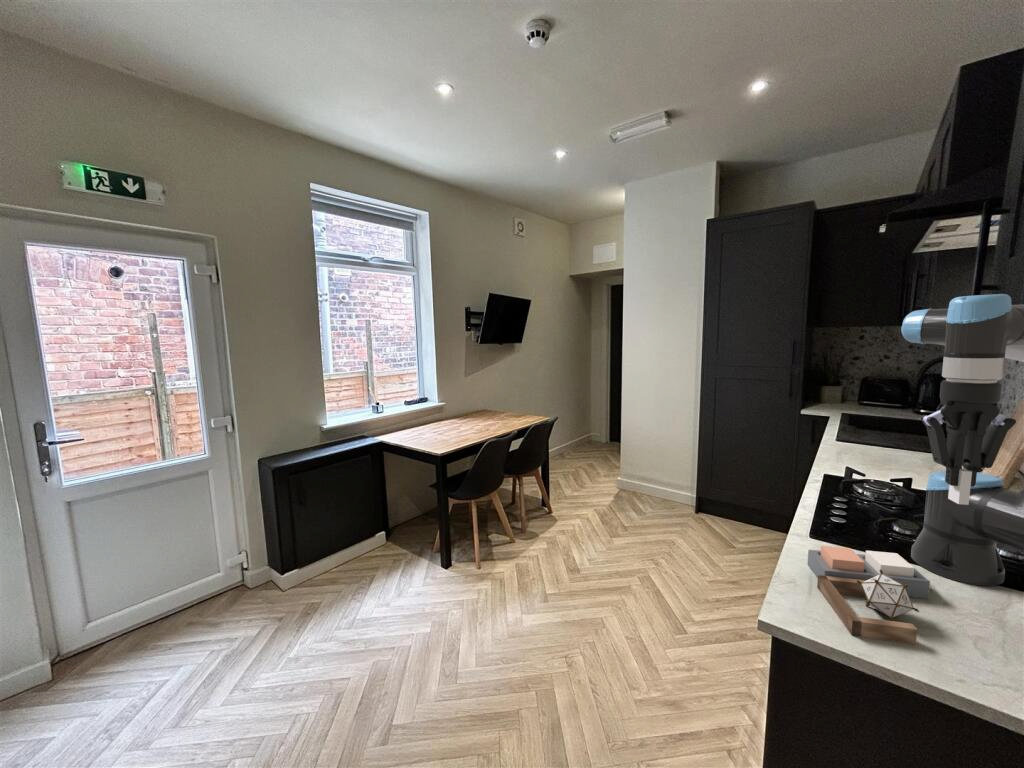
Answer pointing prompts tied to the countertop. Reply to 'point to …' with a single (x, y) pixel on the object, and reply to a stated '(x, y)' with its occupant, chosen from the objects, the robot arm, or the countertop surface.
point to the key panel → (869, 574)
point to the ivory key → (889, 563)
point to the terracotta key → (842, 558)
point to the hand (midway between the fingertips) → (958, 501)
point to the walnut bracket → (861, 625)
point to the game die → (887, 595)
